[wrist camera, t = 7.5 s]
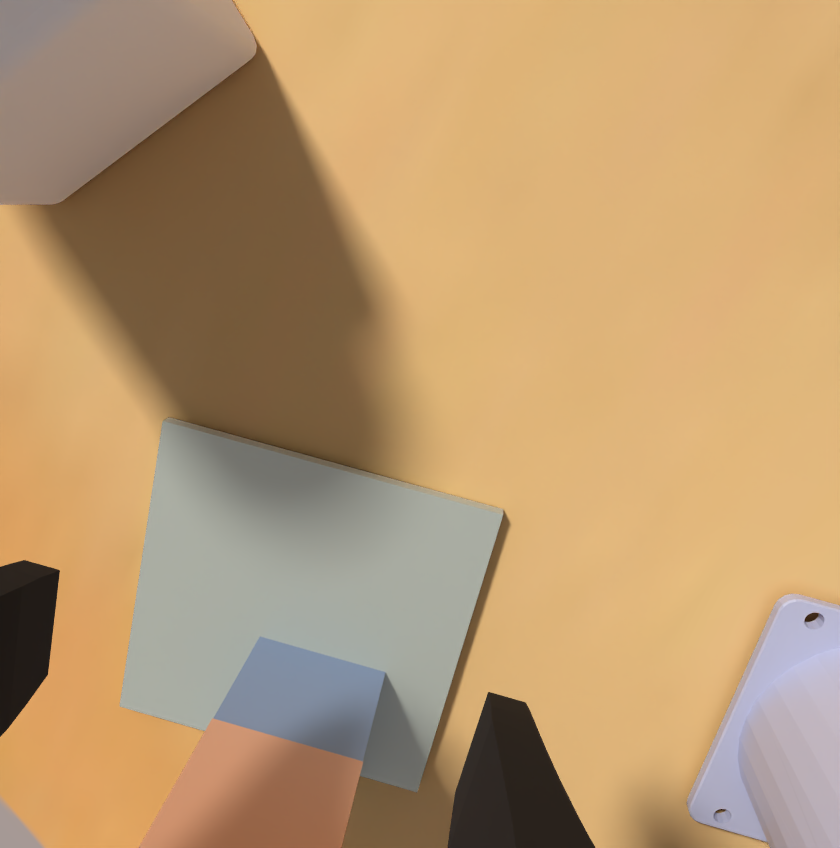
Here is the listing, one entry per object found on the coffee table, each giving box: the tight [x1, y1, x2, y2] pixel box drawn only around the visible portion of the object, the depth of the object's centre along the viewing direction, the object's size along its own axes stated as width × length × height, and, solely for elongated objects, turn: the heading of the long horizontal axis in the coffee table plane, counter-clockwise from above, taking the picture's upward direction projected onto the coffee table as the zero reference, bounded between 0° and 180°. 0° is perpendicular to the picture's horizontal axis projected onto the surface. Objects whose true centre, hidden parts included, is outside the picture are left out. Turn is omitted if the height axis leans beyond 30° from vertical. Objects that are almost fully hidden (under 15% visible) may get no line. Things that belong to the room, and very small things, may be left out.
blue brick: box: [213, 637, 385, 761], centre depth 22 cm, size 4×4×4 cm
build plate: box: [120, 417, 503, 792], centre depth 23 cm, size 10×10×1 cm
